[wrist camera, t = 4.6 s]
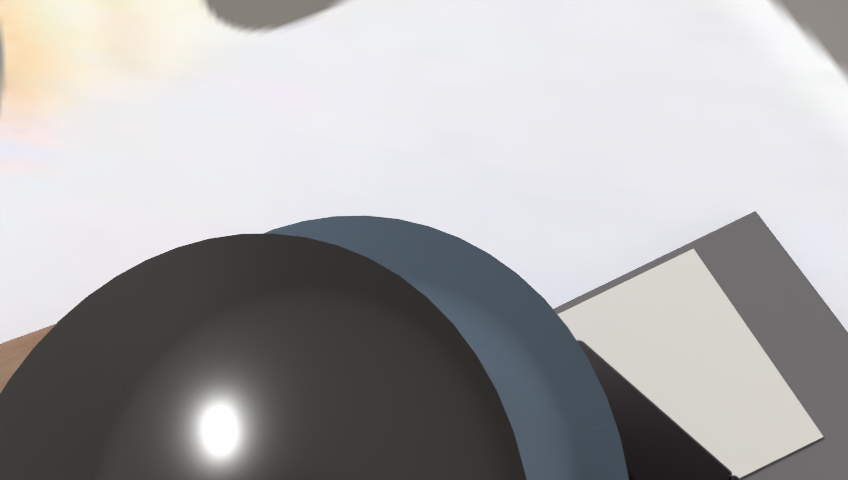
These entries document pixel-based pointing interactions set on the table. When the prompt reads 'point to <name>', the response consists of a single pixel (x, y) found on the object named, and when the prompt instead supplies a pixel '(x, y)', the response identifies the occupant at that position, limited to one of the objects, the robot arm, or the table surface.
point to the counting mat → (730, 351)
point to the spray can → (311, 368)
